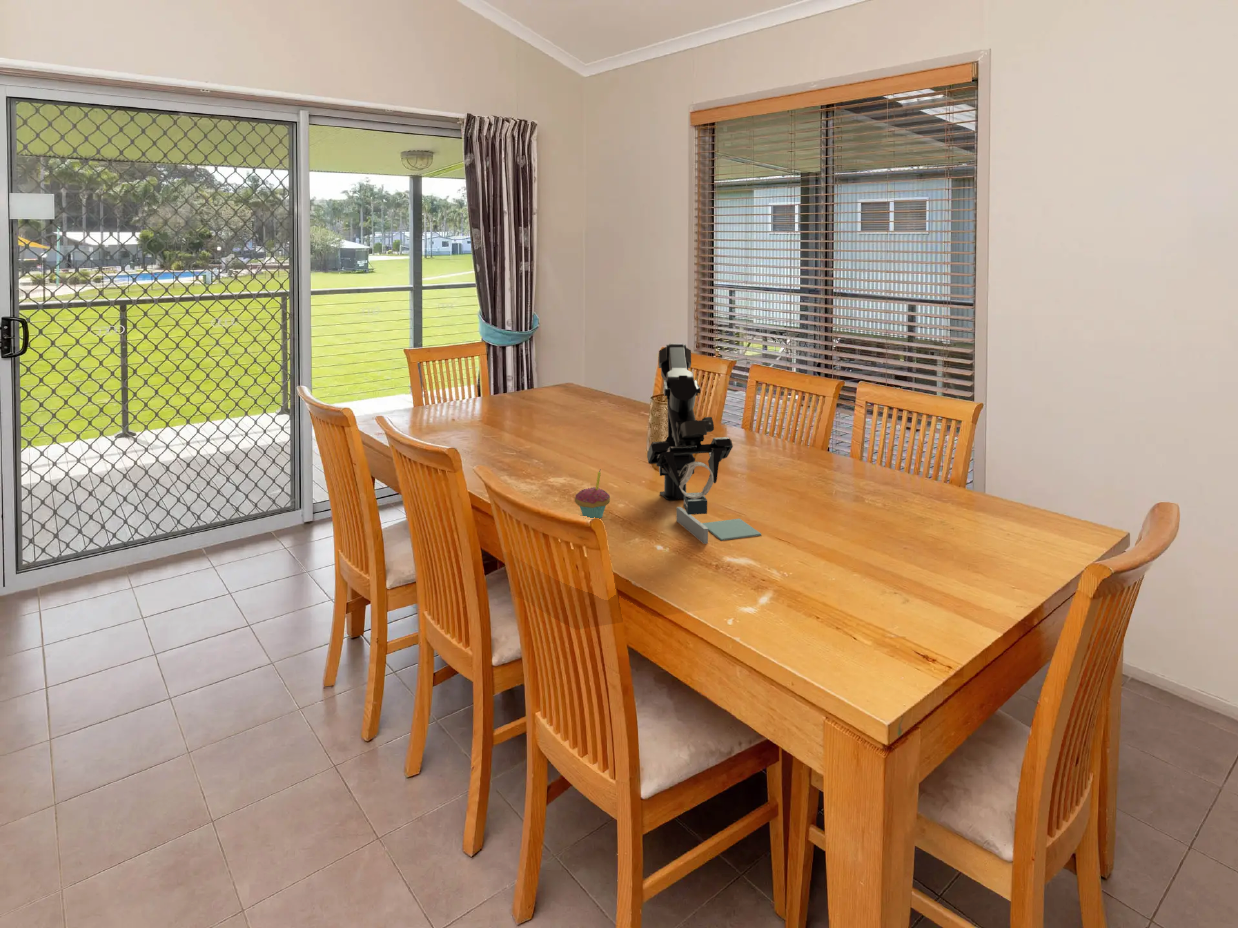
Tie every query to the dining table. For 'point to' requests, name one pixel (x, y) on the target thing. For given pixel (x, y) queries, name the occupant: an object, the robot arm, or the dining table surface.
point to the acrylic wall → (692, 525)
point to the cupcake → (592, 500)
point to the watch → (695, 501)
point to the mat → (731, 529)
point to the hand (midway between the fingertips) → (697, 483)
